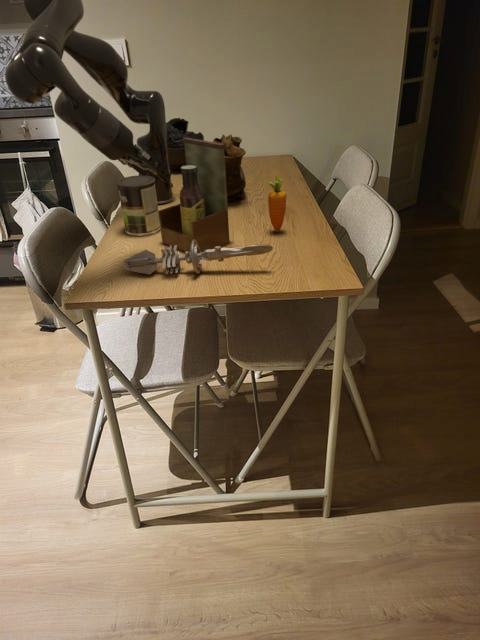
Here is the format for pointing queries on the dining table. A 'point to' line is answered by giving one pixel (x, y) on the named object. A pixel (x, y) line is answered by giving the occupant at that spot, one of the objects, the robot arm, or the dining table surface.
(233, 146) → the pottery vessel
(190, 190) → the sauce bottle
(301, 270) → the dining table surface
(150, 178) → the coffee can
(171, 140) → the coal bowl
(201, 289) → the dining table surface
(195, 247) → the spaceship
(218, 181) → the bottle rack
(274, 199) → the carrot
